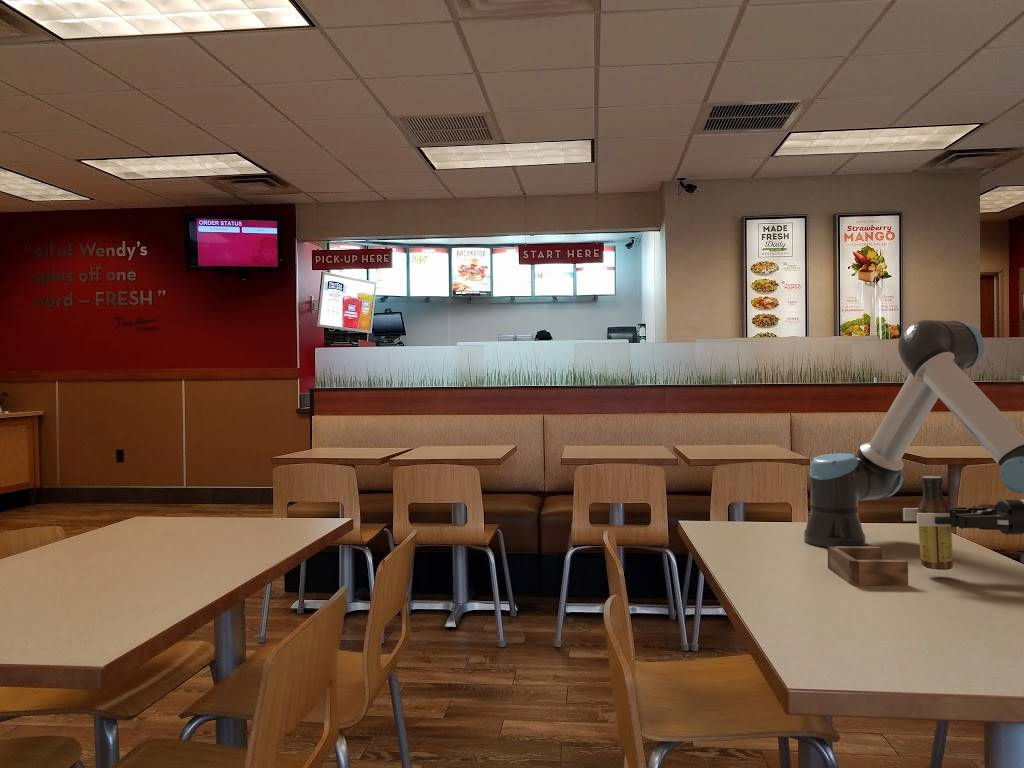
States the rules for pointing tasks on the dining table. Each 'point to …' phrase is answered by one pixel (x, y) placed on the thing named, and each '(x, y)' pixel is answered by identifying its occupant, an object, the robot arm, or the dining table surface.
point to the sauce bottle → (935, 527)
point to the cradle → (866, 566)
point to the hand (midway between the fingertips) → (910, 517)
